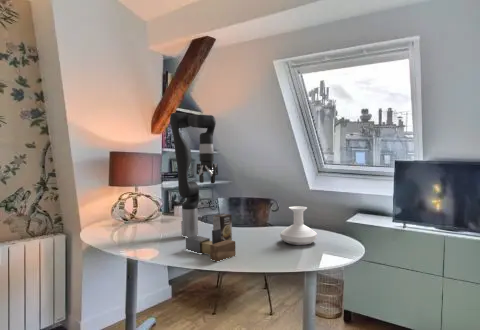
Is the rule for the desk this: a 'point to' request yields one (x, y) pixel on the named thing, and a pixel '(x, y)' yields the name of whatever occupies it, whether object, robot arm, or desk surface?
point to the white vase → (298, 229)
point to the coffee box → (223, 225)
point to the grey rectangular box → (195, 243)
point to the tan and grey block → (215, 239)
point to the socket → (222, 250)
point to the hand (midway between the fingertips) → (207, 182)
